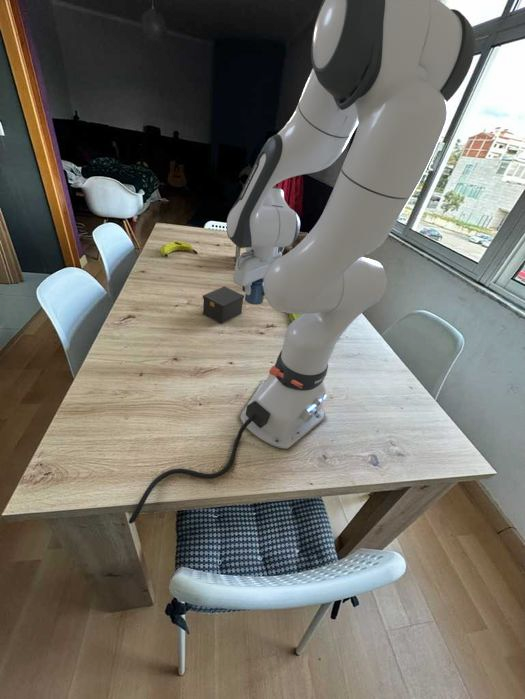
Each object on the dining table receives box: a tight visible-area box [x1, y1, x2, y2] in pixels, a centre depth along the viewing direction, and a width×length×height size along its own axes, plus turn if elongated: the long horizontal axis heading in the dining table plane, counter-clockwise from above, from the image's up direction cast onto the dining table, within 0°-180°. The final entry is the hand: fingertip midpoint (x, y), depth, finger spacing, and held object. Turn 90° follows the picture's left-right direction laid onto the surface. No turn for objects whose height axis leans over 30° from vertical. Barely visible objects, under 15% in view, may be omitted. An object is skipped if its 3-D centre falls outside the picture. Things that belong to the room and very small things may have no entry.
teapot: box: [241, 278, 265, 305], centre depth 93 cm, size 11×6×8 cm, turn 55°
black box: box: [202, 286, 245, 324], centre depth 105 cm, size 12×10×7 cm
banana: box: [160, 240, 198, 258], centre depth 146 cm, size 5×17×15 cm
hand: (255, 290), depth 94 cm, fingers closed on teapot, 6 cm apart
